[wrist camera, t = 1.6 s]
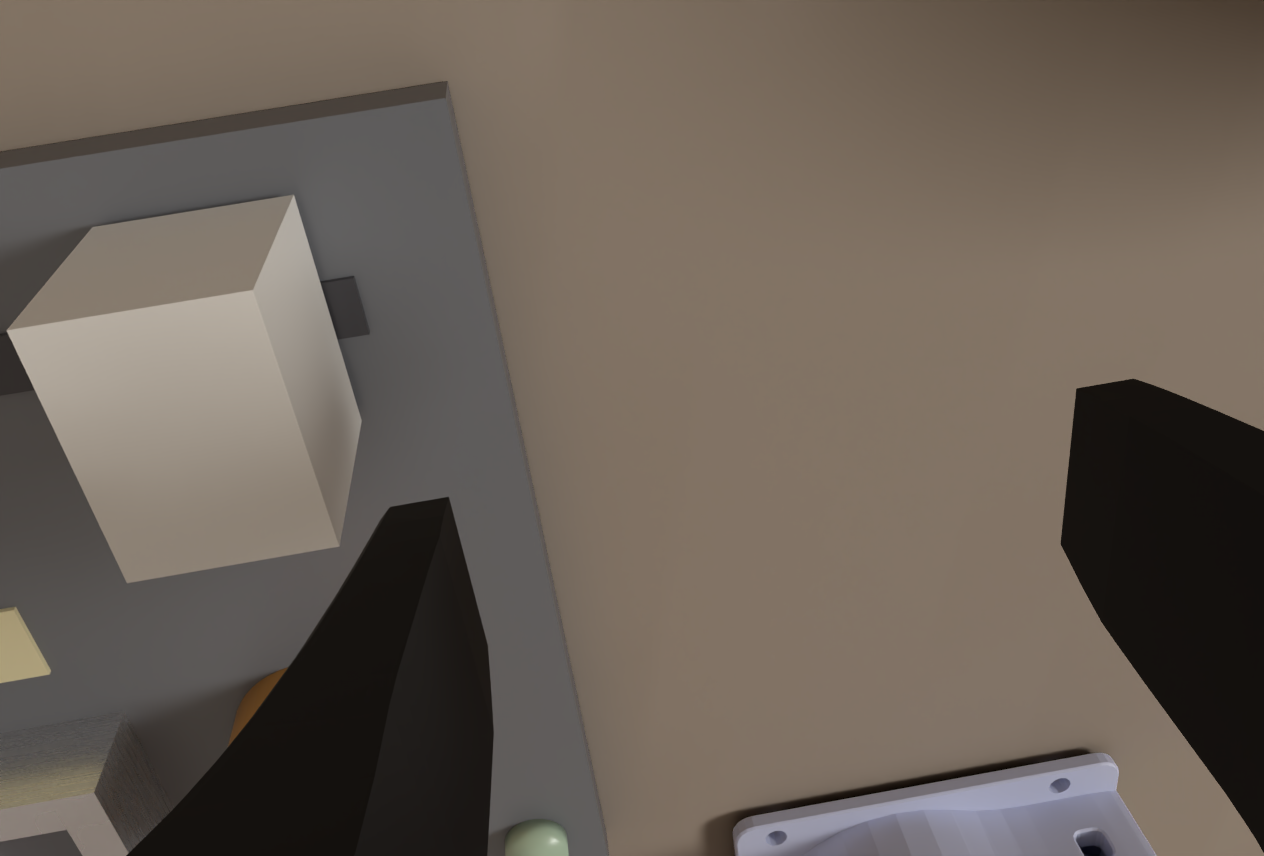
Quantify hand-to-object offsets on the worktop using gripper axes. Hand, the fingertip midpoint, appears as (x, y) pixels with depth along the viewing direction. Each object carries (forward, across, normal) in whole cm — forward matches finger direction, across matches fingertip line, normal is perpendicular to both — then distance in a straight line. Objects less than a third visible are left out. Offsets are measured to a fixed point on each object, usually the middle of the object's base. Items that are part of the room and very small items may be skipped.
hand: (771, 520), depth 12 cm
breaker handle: (+7, +7, 0) cm, 10 cm away
